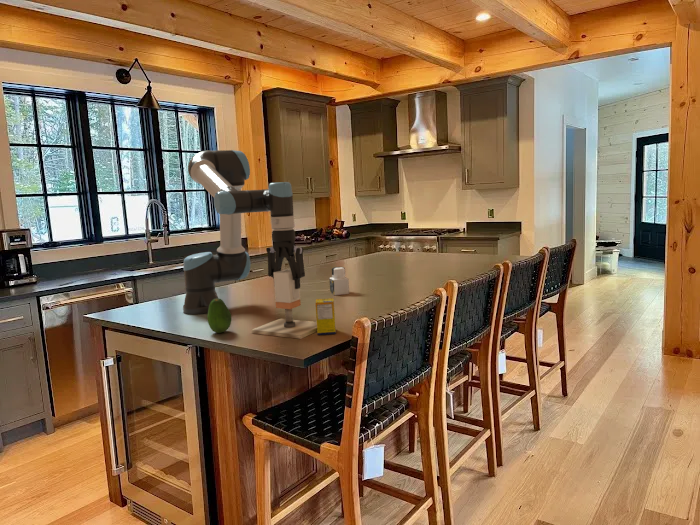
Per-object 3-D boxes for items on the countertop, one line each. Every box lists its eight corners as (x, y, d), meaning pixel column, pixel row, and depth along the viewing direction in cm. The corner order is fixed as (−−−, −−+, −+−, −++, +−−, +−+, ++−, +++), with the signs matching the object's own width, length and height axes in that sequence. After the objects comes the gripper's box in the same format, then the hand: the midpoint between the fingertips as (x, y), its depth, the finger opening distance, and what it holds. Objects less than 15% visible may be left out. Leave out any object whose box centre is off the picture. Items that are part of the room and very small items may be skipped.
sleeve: (275, 301, 176) (273, 272, 174) (286, 298, 181) (284, 269, 180) (290, 302, 173) (288, 272, 172) (300, 299, 178) (298, 270, 177)
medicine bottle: (330, 292, 240) (328, 266, 238) (344, 291, 242) (343, 265, 240) (334, 295, 233) (332, 268, 231) (349, 293, 235) (348, 267, 234)
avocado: (203, 334, 178) (200, 299, 176) (221, 328, 184) (218, 295, 183) (220, 337, 174) (217, 301, 172) (237, 331, 180) (234, 296, 178)
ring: (275, 308, 176) (275, 302, 176) (286, 304, 181) (286, 298, 181) (290, 309, 173) (290, 303, 173) (300, 305, 178) (300, 299, 178)
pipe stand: (251, 333, 176) (249, 298, 175) (280, 321, 190) (277, 289, 188) (301, 338, 167) (298, 301, 165) (327, 326, 180) (325, 291, 179)
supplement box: (335, 329, 175) (333, 297, 174) (335, 334, 170) (333, 301, 168) (317, 330, 175) (315, 298, 174) (317, 335, 169) (315, 302, 168)
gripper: (253, 230, 175) (258, 298, 178) (300, 230, 166) (305, 301, 169) (267, 228, 182) (272, 294, 185) (313, 228, 172) (317, 297, 175)
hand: (287, 297), depth 177 cm, fingers closed on sleeve, 6 cm apart
